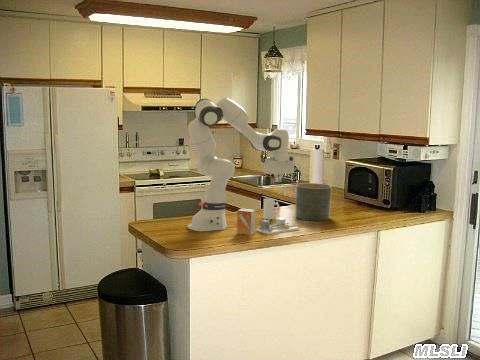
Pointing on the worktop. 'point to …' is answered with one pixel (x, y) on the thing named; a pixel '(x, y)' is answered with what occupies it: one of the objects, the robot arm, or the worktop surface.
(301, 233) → the worktop surface
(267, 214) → the mug
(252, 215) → the small box
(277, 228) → the gauge board
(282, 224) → the sliding leg
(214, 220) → the robot arm
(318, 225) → the worktop surface
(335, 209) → the worktop surface
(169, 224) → the worktop surface
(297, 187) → the planter
